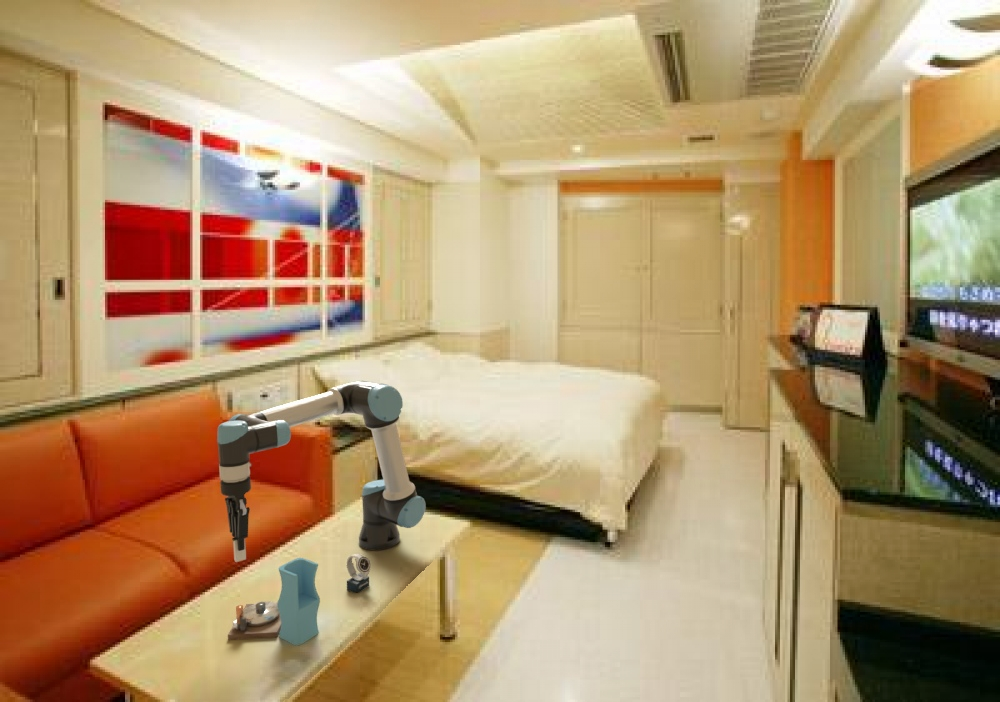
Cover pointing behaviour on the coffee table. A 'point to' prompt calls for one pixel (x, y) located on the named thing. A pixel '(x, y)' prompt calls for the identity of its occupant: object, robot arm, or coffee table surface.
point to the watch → (358, 580)
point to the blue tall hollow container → (298, 601)
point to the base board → (255, 629)
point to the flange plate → (257, 614)
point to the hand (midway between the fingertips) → (240, 559)
